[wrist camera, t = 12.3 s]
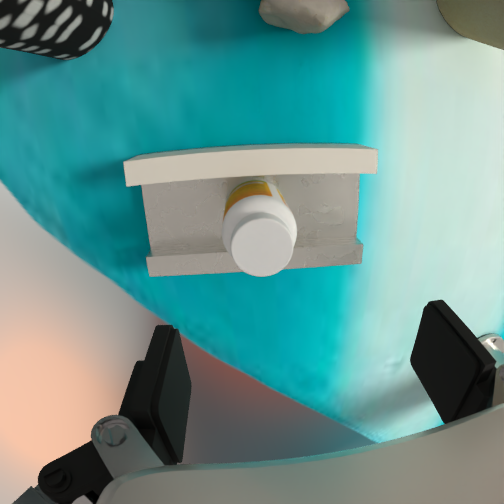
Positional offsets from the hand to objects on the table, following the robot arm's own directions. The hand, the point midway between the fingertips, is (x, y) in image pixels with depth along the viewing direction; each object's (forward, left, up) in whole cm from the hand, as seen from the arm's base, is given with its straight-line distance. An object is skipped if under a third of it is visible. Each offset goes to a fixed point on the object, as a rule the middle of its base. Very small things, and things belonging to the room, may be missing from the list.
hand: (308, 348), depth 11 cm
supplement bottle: (0, +1, -20) cm, 20 cm away
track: (+1, +1, -21) cm, 21 cm away
